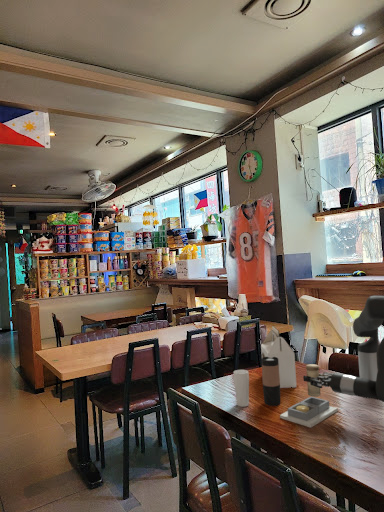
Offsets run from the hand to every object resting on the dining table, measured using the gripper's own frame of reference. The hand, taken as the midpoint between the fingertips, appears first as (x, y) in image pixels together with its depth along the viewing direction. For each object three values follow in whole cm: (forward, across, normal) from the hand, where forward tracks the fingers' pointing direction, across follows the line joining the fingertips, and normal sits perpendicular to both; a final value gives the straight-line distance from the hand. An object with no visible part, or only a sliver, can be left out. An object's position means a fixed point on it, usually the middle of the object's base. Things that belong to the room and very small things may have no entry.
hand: (307, 376), depth 165 cm
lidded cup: (-3, 0, +7) cm, 7 cm away
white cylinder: (+25, +14, +14) cm, 32 cm away
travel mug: (+17, +4, +14) cm, 22 cm away
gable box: (+32, -23, +14) cm, 42 cm away
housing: (-2, +4, +14) cm, 15 cm away
